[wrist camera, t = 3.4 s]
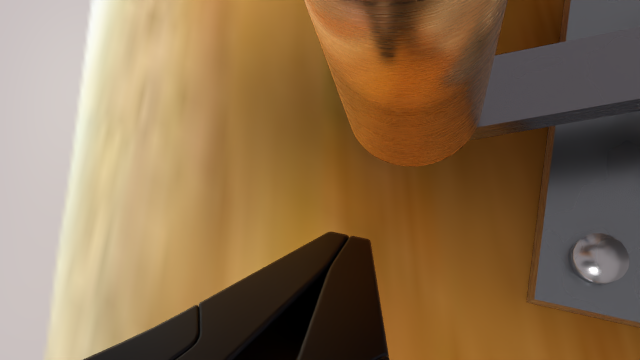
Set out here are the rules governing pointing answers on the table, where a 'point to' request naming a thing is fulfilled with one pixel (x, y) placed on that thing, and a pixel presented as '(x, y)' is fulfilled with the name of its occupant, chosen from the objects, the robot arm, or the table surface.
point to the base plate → (591, 196)
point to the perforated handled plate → (462, 75)
